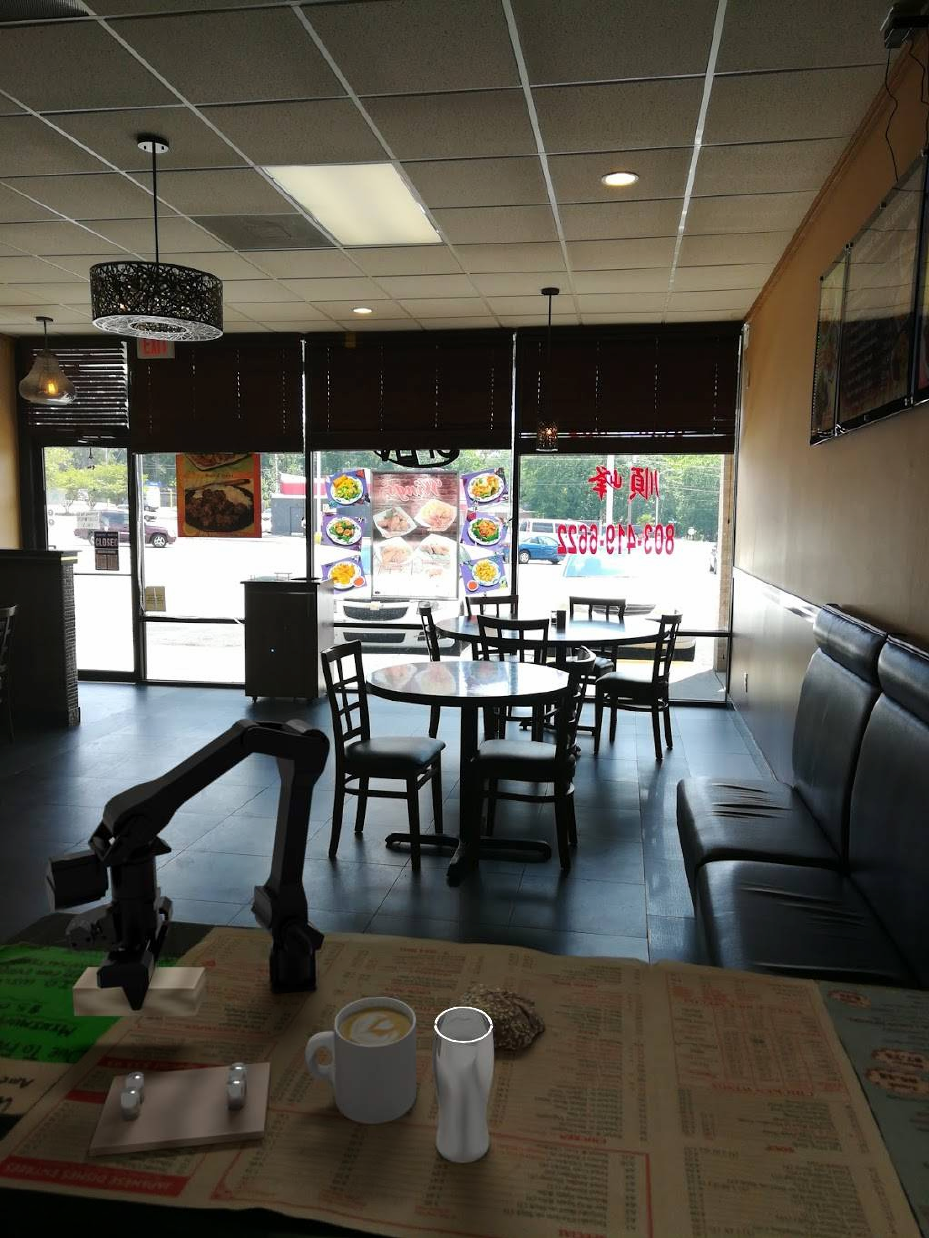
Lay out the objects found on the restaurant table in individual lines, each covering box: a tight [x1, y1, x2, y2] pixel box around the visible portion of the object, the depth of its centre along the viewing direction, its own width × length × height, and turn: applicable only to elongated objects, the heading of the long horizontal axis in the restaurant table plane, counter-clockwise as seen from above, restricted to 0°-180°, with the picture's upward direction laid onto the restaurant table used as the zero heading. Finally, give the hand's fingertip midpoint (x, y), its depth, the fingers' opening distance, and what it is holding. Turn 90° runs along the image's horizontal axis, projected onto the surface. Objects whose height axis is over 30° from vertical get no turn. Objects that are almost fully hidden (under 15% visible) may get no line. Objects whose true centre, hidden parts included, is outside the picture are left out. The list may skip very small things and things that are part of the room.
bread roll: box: [454, 983, 546, 1051], centre depth 123 cm, size 13×12×5 cm
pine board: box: [72, 966, 207, 1017], centre depth 120 cm, size 16×5×4 cm, turn 90°
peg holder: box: [89, 1061, 271, 1157], centre depth 106 cm, size 19×12×4 cm, turn 99°
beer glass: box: [431, 1007, 495, 1164], centre depth 100 cm, size 7×7×15 cm
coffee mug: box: [304, 996, 417, 1125], centre depth 109 cm, size 13×10×10 cm
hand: (141, 997), depth 120 cm, fingers closed on pine board, 5 cm apart
